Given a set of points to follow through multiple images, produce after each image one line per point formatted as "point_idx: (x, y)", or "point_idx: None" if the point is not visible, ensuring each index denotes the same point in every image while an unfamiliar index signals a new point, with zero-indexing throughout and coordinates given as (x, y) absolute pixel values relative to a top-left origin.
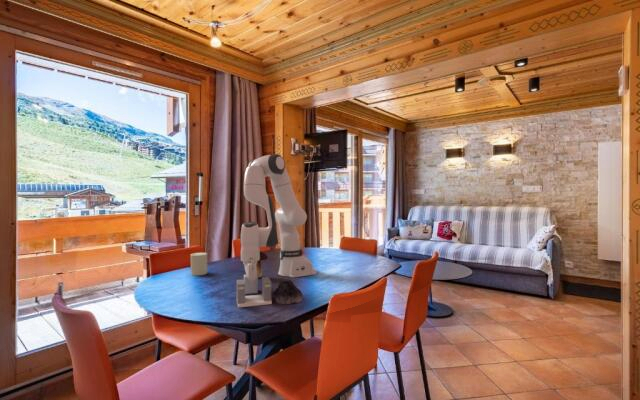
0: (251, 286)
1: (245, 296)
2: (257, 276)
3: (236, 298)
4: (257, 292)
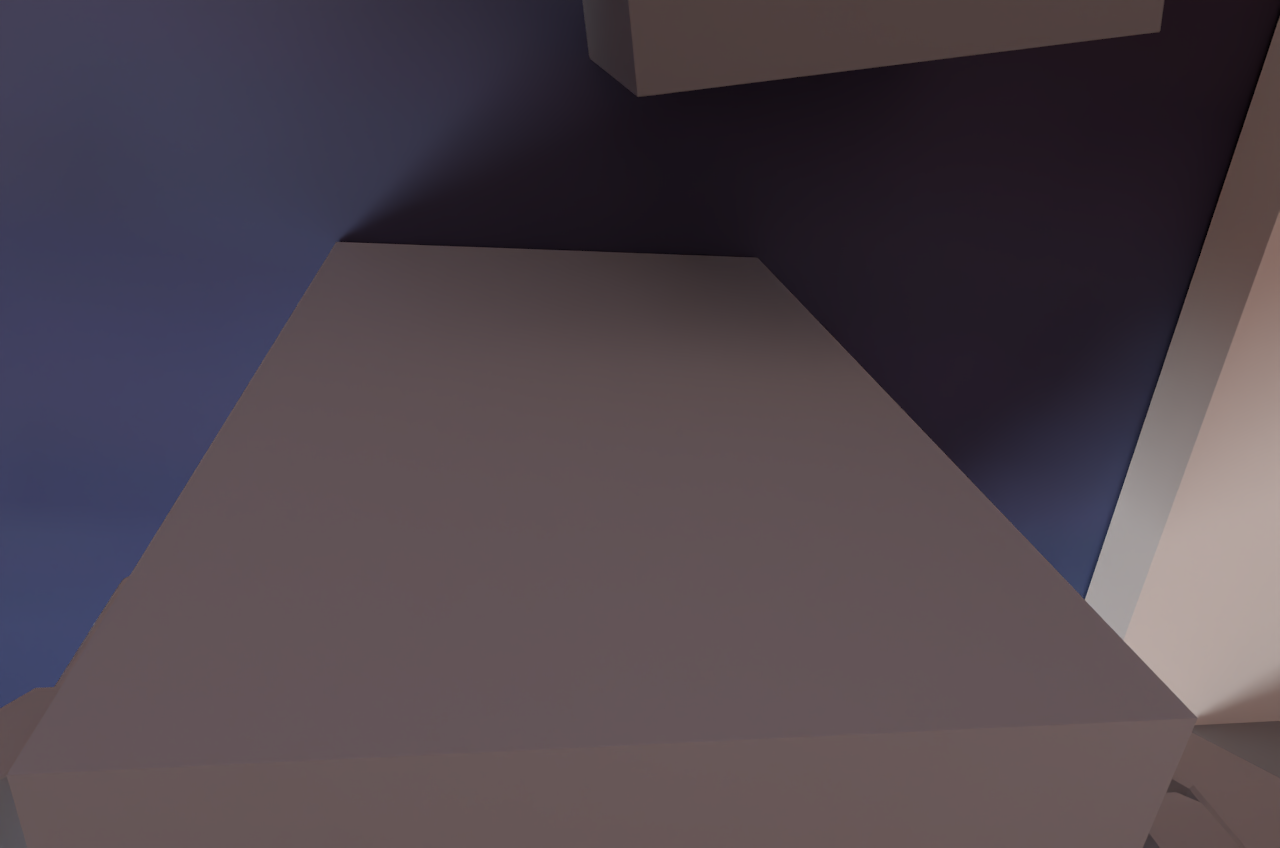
0: None
1: None
2: (1166, 695)
3: None
4: (757, 268)
